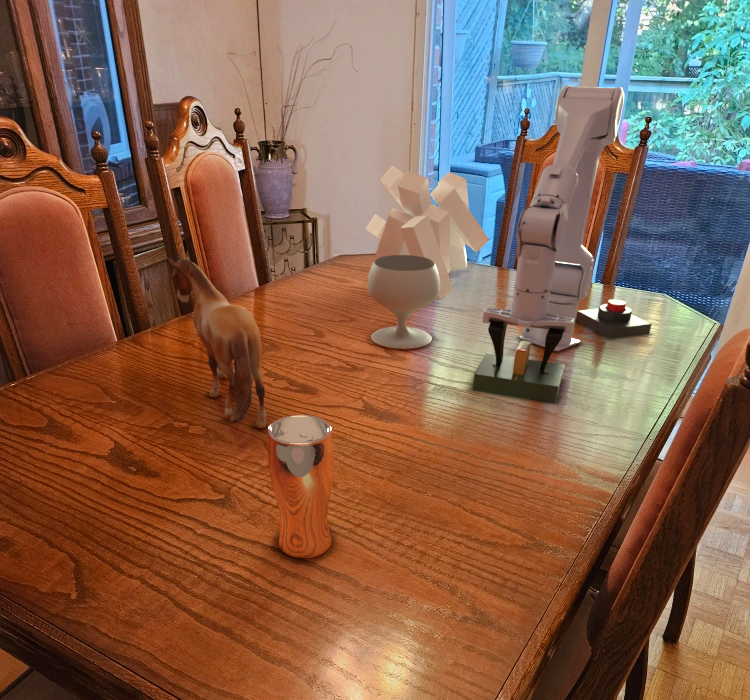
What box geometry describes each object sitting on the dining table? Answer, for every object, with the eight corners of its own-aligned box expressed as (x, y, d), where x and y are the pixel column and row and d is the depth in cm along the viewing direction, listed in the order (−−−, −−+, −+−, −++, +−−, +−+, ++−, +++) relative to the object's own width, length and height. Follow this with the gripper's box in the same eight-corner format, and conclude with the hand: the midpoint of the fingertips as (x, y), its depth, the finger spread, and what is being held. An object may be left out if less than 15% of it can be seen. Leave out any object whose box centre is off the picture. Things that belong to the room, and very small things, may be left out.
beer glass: (276, 526, 80) (267, 414, 72) (334, 524, 81) (332, 413, 72) (274, 562, 75) (264, 445, 66) (336, 560, 75) (334, 444, 67)
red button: (602, 308, 141) (604, 300, 140) (616, 307, 142) (618, 298, 141) (613, 313, 138) (615, 305, 137) (627, 312, 139) (629, 303, 138)
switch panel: (472, 390, 114) (474, 373, 112) (484, 368, 122) (486, 352, 120) (555, 403, 110) (558, 385, 108) (561, 380, 118) (564, 363, 116)
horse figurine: (185, 375, 117) (166, 254, 105) (228, 368, 120) (214, 249, 108) (234, 456, 94) (217, 313, 82) (286, 445, 97) (277, 305, 85)
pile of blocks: (391, 279, 187) (338, 161, 163) (495, 242, 178) (454, 110, 153) (389, 357, 165) (327, 233, 140) (508, 318, 155) (463, 178, 131)
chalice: (355, 345, 130) (355, 267, 122) (381, 323, 141) (383, 250, 133) (423, 356, 126) (428, 276, 118) (444, 333, 137) (450, 258, 128)
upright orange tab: (517, 362, 117) (521, 339, 114) (527, 363, 116) (531, 340, 114) (512, 374, 112) (515, 350, 110) (523, 375, 112) (526, 351, 110)
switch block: (575, 320, 145) (578, 302, 143) (613, 316, 148) (617, 298, 146) (609, 339, 136) (614, 320, 134) (649, 334, 139) (654, 315, 137)
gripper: (482, 289, 105) (474, 369, 113) (576, 300, 102) (560, 382, 109) (491, 278, 111) (482, 355, 118) (580, 287, 107) (565, 367, 115)
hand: (520, 367), depth 114 cm, fingers open, 7 cm apart
